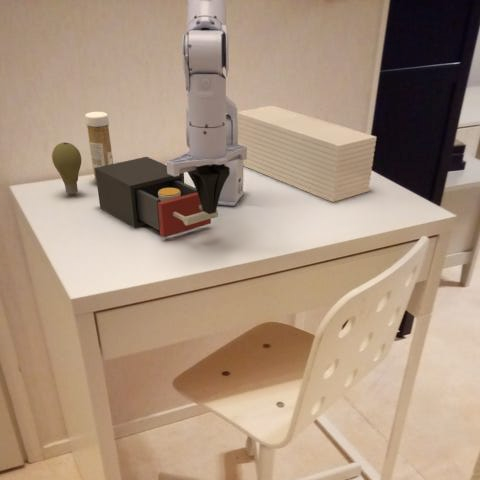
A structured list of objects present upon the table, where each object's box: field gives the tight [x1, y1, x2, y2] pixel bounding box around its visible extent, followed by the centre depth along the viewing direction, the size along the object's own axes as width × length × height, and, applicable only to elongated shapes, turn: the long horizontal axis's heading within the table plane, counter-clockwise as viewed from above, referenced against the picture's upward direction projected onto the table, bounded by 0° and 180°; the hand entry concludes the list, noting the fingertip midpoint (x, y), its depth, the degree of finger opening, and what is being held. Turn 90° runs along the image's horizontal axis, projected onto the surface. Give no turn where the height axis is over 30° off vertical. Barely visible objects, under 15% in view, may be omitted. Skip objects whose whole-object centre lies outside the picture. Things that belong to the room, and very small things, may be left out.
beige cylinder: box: [158, 188, 181, 202], centre depth 109 cm, size 4×4×4 cm
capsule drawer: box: [134, 179, 219, 238], centre depth 109 cm, size 16×10×6 cm, turn 40°
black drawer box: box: [95, 156, 185, 229], centre depth 115 cm, size 13×12×8 cm
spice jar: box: [84, 111, 114, 185], centre depth 126 cm, size 5×5×14 cm
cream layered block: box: [237, 105, 378, 203], centre depth 131 cm, size 32×11×11 cm, turn 38°
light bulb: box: [51, 142, 82, 197], centre depth 121 cm, size 6×6×10 cm
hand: (209, 211), depth 101 cm, fingers closed
